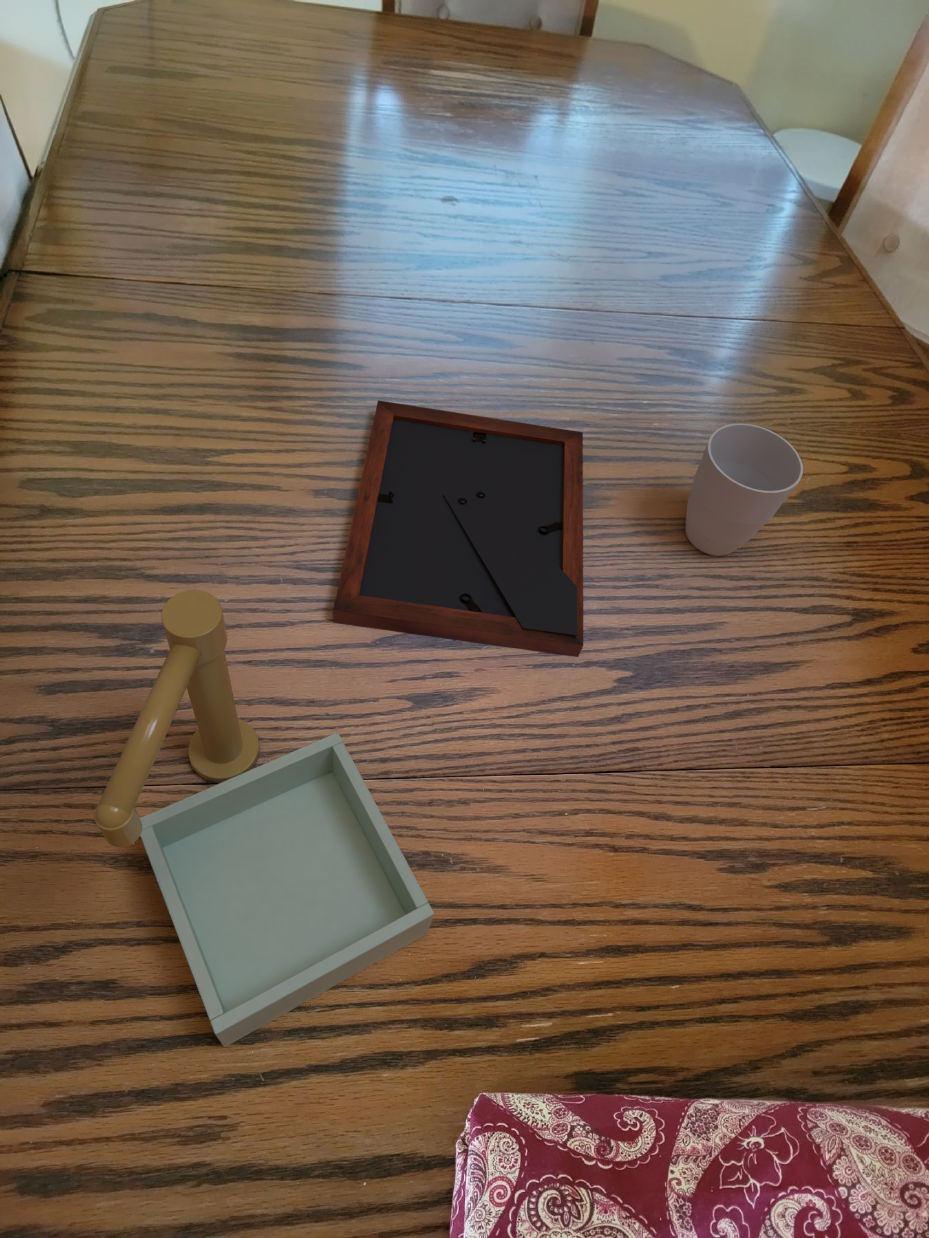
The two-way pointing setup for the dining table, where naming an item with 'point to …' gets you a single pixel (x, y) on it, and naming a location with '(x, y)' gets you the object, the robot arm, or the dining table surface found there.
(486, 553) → the picture frame
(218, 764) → the faucet base
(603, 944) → the dining table surface
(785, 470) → the cup
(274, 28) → the dining table surface
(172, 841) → the sink
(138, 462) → the dining table surface
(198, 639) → the spout
